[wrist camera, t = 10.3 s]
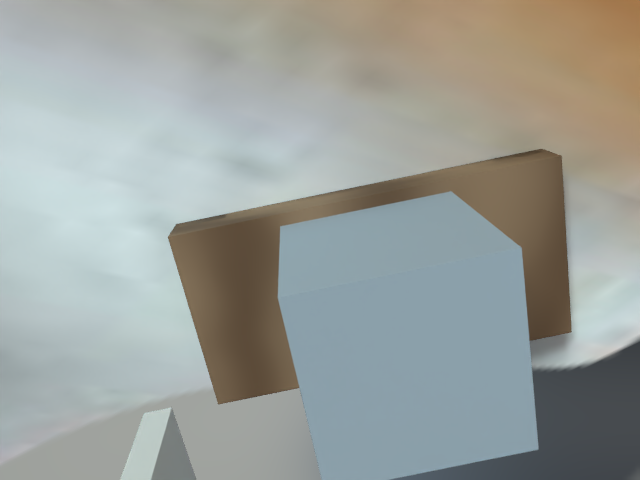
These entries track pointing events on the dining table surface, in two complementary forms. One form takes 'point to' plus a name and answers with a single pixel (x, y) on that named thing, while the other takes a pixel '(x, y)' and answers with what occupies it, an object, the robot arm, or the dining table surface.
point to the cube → (408, 338)
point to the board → (264, 222)
